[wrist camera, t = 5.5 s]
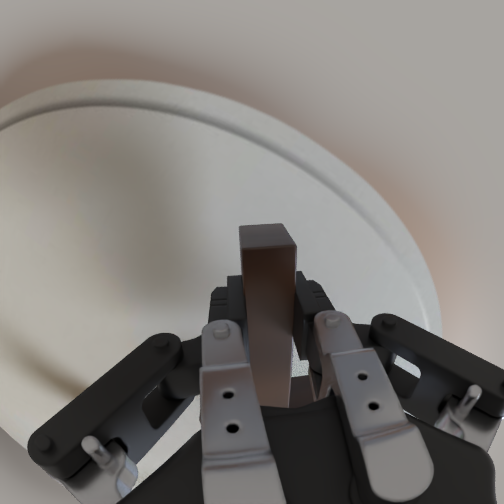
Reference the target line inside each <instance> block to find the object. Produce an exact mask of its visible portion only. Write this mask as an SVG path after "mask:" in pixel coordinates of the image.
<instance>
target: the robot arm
mask: <svg viewBox="0 0 504 504" xmlns="http://www.w3.org/2000/svg"><path fill="white" fill-rule="evenodd" d="M293 339H294V342H295V346H296V349H297V352H298V355H299V359H300V361H301V360H308V361H309V369H308V374H309V380H310V385H311V390H312V395H313V400H314V402H313V403H310V404H308V405H305V406H302V407H299V408H284V407H272V406H260V405H259V400H258V396H257V392H256V388H255V383H254V379H253V375H252V370H251V366H250V352H249V336H248V321H247V310H246V300H245V296H244V294H243V283H242V275H236V276H227V287H216V288H215V290H214V291H213V292H212V293H211V301H210V309H209V318H208V324H207V325H205V326H204V328H203V329H202V335H200V336H199V337H197V338H194V339H191V340H187V341H183V342H181V340H180V338H179V337H178V336H176V335H174V334H171V333H159V334H156V335H153V336H151V337H149V338H148V339H147V340H145V341H144V342H143V343H142V344H141V345H139V346H138V347H137V348H136V349H135V350H133V351H132V352H131V353H130V354H128V355H127V356H126V357H125V358H124V359H122V360H121V361H120V362H119V363H118V364H116V365H115V366H114V367H113V368H111V369H110V370H109V371H108V372H107V373H105V374H104V375H103V376H102V377H100V378H99V379H98V380H97V381H96V382H94V383H93V384H92V385H91V386H90V387H88V388H87V389H86V390H85V391H83V392H82V393H81V394H80V395H79V396H77V397H76V398H75V399H74V400H73V401H71V402H70V403H69V404H68V405H66V406H65V407H64V408H63V409H62V410H60V411H59V412H58V413H57V414H56V415H54V416H53V417H52V418H51V419H49V420H48V421H47V422H46V423H45V424H43V425H42V426H41V427H40V428H38V429H37V430H36V431H35V432H34V433H33V434H32V435H31V436H30V438H29V441H28V446H27V448H28V453H29V455H30V457H31V458H32V460H33V461H34V462H35V463H36V464H38V465H39V466H40V467H41V468H42V469H43V470H45V471H46V472H47V473H48V475H49V476H50V477H52V478H53V479H55V480H56V481H57V482H58V483H60V484H61V485H63V486H64V487H65V488H66V489H67V490H68V491H69V492H70V493H71V494H72V495H73V496H74V497H75V498H76V499H77V500H78V501H79V502H80V503H81V504H497V501H496V494H495V467H494V464H493V461H492V459H491V457H490V456H489V454H488V453H487V452H488V450H489V448H490V446H491V443H492V441H493V439H494V437H495V435H496V432H497V430H498V428H499V425H500V422H501V421H502V419H503V418H504V370H503V369H501V368H499V367H497V366H495V365H494V364H492V363H489V362H488V361H486V360H484V359H482V358H480V357H478V356H476V355H474V354H472V353H469V352H468V351H466V350H464V349H462V348H460V347H458V346H456V345H454V344H452V343H450V342H448V341H446V340H444V339H442V338H440V337H438V336H436V335H434V334H432V333H430V332H428V331H426V330H424V329H422V328H420V327H418V326H416V325H414V324H412V323H410V322H408V321H406V320H404V319H402V318H400V317H398V316H396V315H393V314H386V313H384V314H378V315H376V316H374V317H373V319H372V321H371V325H366V324H354V323H352V322H351V320H350V318H349V317H348V316H347V315H346V314H344V313H342V312H339V311H336V310H335V308H334V307H333V305H332V303H331V302H330V300H329V298H328V297H327V295H326V293H325V292H324V290H323V288H322V287H321V285H320V284H318V283H317V282H315V281H313V280H309V281H307V280H306V279H305V277H304V275H303V273H302V271H296V292H295V299H294V323H293ZM397 355H398V356H400V357H402V358H403V359H405V360H407V361H409V362H410V363H412V364H414V365H416V366H417V367H418V368H419V369H420V372H421V376H420V379H419V378H417V377H416V376H414V375H412V374H410V373H409V372H407V371H405V370H404V369H402V368H400V367H399V366H397V365H395V364H394V362H395V359H396V356H397ZM199 394H200V414H201V430H199V431H198V432H197V433H195V434H194V435H193V436H192V437H191V438H190V439H189V440H188V441H187V442H186V443H185V444H184V445H183V446H182V447H181V448H180V449H179V450H178V451H177V452H176V453H175V454H173V455H172V456H171V457H170V458H169V459H168V460H167V461H166V462H165V463H164V464H162V465H161V466H160V467H159V468H158V469H157V470H156V471H155V472H153V473H152V474H151V475H150V476H149V477H148V478H147V479H145V480H144V481H143V482H142V483H141V484H139V485H138V486H137V487H136V488H135V489H133V490H132V487H133V486H134V485H135V482H136V481H137V478H138V469H137V466H136V464H137V463H138V462H139V461H140V460H141V459H142V458H143V457H144V456H145V455H146V453H147V452H148V451H149V450H150V449H151V448H152V447H153V446H154V445H155V444H156V442H157V441H158V440H159V439H160V438H161V437H162V436H163V435H164V434H165V432H166V431H167V430H168V429H169V428H170V427H171V426H172V424H173V423H174V422H175V421H176V420H177V419H178V418H179V416H180V415H181V414H182V413H183V412H184V411H185V409H186V408H187V407H188V406H189V405H190V404H191V402H192V401H193V399H194V397H195V396H196V395H199ZM403 409H404V410H405V411H407V412H408V413H410V414H411V415H413V416H415V417H416V418H415V417H413V416H411V415H409V414H407V413H405V412H404V411H403ZM417 418H418V419H417ZM131 490H132V491H131Z"/></svg>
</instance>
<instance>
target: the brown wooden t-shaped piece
mask: <svg viewBox="0 0 504 504" xmlns="http://www.w3.org/2000/svg"><path fill="white" fill-rule="evenodd" d="M239 241H240V257H241V272H242V283H243V294H244V296H245V300H246V310H247V321H248V336H249V352H250V366H251V370H252V375H253V379H254V383H255V388H256V392H257V396H258V400H259V405H260V406H272V407H284V408H299V407H302V406H305V405H308V404H310V403H313V402H314V400H313V395H312V390H311V385H310V380H309V375H305V376H298V377H291V373H292V358H293V342H294V339H293V323H294V299H295V292H296V264H297V246H296V244H295V242H294V241H293V239H292V238H291V236H290V235H289V233H288V232H287V230H286V228H285V227H284V225H283V224H281V223H280V224H261V225H245V226H239ZM199 420H200V423H201V414H200V419H199Z"/></svg>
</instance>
